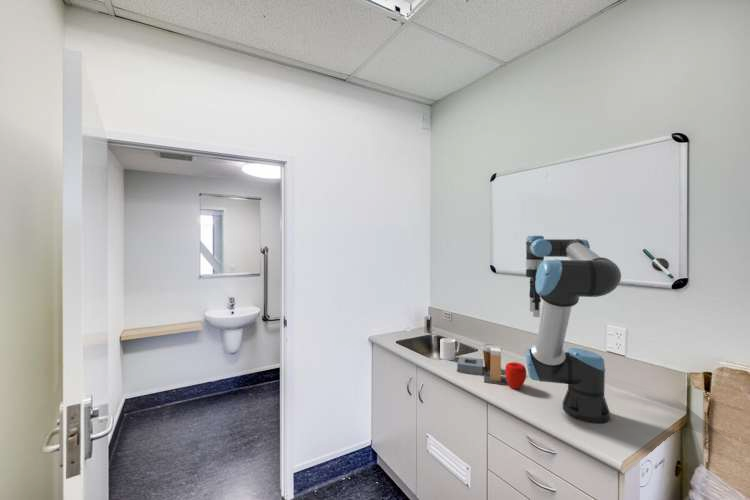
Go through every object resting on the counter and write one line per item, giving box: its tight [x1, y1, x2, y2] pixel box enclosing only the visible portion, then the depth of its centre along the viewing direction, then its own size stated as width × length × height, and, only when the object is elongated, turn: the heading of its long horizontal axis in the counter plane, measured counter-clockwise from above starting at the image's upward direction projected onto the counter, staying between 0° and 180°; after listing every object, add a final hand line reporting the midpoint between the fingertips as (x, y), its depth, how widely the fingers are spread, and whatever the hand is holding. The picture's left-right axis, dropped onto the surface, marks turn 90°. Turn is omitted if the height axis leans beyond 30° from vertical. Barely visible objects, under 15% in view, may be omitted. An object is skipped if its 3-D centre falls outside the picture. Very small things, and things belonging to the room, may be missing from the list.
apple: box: [504, 361, 527, 390], centre depth 146 cm, size 9×9×11 cm
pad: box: [483, 373, 508, 387], centre depth 154 cm, size 10×10×1 cm
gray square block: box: [456, 356, 484, 376], centre depth 168 cm, size 12×12×4 cm
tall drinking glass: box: [489, 348, 502, 382], centre depth 154 cm, size 5×5×14 cm
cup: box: [439, 337, 461, 361], centre depth 186 cm, size 8×12×10 cm
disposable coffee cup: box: [481, 343, 503, 372], centre depth 167 cm, size 10×10×12 cm
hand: (534, 314), depth 152 cm, fingers open, 13 cm apart
